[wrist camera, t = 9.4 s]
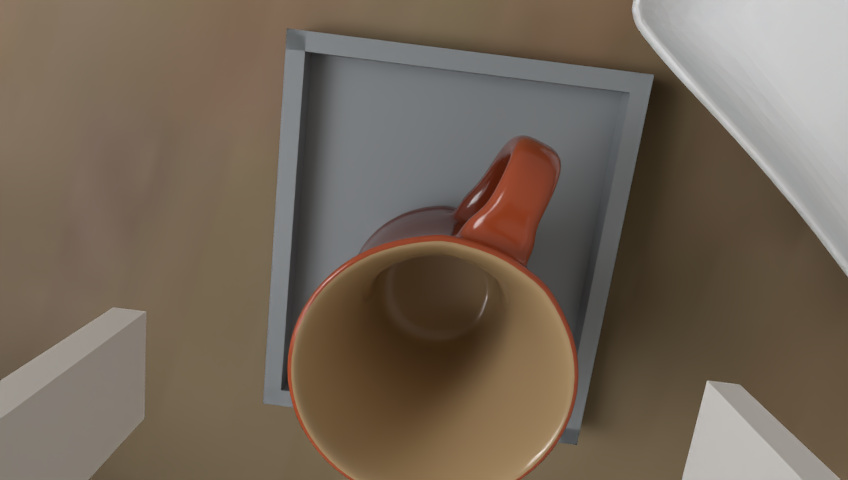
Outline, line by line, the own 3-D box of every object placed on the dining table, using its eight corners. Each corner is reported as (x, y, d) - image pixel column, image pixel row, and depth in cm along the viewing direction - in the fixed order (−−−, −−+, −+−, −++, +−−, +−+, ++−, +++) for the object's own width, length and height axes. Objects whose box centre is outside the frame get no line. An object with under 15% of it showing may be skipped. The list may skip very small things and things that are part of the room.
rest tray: (273, 385, 30) (262, 403, 28) (297, 32, 26) (286, 28, 24) (569, 424, 30) (576, 444, 28) (640, 75, 26) (654, 74, 24)
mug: (477, 392, 29) (492, 548, 19) (314, 316, 28) (242, 435, 19) (603, 173, 26) (697, 221, 16) (426, 82, 26) (411, 75, 16)
